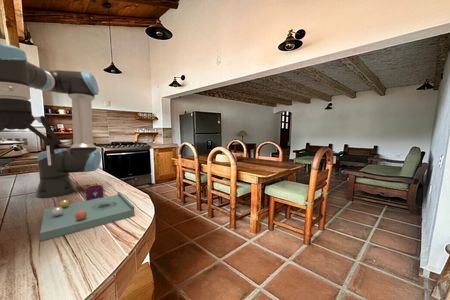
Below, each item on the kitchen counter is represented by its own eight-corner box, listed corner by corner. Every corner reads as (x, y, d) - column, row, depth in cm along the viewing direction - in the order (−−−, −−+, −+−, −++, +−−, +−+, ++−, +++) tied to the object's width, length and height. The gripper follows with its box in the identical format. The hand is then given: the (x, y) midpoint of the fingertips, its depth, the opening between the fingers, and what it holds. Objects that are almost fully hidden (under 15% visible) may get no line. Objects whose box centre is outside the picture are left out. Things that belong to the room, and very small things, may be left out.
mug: (86, 205, 85) (85, 190, 84) (86, 198, 93) (84, 185, 92) (104, 201, 89) (103, 187, 88) (102, 196, 97) (101, 182, 96)
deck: (45, 215, 75) (44, 205, 74) (119, 199, 92) (119, 191, 91) (40, 241, 57) (39, 229, 56) (134, 215, 73) (134, 206, 73)
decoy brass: (59, 207, 76) (58, 199, 76) (70, 205, 78) (69, 197, 78) (59, 209, 73) (58, 201, 73) (70, 207, 76) (69, 199, 75)
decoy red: (75, 219, 65) (74, 210, 65) (86, 216, 67) (86, 207, 67) (75, 222, 63) (74, 213, 63) (87, 219, 65) (87, 210, 65)
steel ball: (52, 215, 68) (51, 207, 68) (64, 213, 70) (63, 204, 70) (51, 218, 66) (51, 209, 65) (64, 216, 68) (63, 207, 68)
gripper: (-63, 91, 48) (-51, 175, 50) (66, 101, 65) (71, 164, 67) (-51, 96, 54) (-41, 171, 56) (65, 104, 70) (70, 161, 72)
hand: (20, 167), depth 61 cm, fingers open, 13 cm apart
